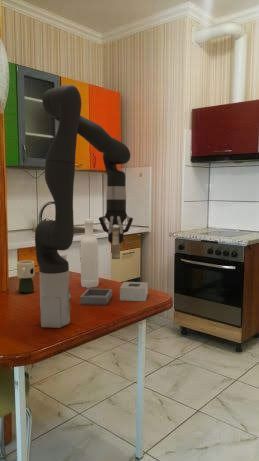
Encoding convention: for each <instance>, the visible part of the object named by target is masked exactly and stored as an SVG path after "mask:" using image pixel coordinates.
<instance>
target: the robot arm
mask: <svg viewBox="0 0 259 461" xmlns="http://www.w3.org/2000/svg"><path fill="white" fill-rule="evenodd" d="M81 97H82V96H81V93H80V90H79V89H78V88H77V86H75V85H73V84H64V85H60V86H56V87H53V88H50V89H48V90H46V91H45V92H44V93H43V95H42V106H43V110H45V112H46V113H47V114H48V116H50V117H51V118H53V119H54V120H56V121H57V122H58V127H57V132H56V134H55V136H54V139H53V140H52V142H51V144H50V146H49V148H48V150H47V152H46V156H45V161H44V162H45V165H44V179H45V183H46V186H47V188H48V190H49V193H50V195H51V197H52V199H53V202H54V208H55V209H54V210H55V211H54V212H55V214H54V215H55V217H54V220H50V219H48V220H47V219H45V220H41V221H40V222H39V223H38V224H37V226H36V228H35V232H34V246H35V258H36V263H37V265H38V268H39V273H38V274H39V303H40V305H39V306H40V309H39V310H40V325H41V326H40V327H41V328H56V329H60V328H62V327H64V326H67V325H68V324H70V323H71V322H70V321H71V319H70V318H71V313H70V312H71V310H70V309H71V308H70V307H71V306H70V300H69V293H70V269H69V268H70V266H69V261H68V260H67V259H66V260H65V259H64V258H62V257H61V256H60V255H59V252H58V251H67V250H68V249H70V247H71V246H72V244H73V240H74V233H75V232H74V186H75V184H74V182H75V172H76V150H77V141H78V140H77V138H78V135H79V136H81V137H82V138H83V139H84V140H86V141H87V143H89V144H90V145H91V146H92V147H93V148H94V149H95V150H97V151H98V152H99V153H102V161H103V165H104V169H105V172H106V177H107V178H106V186H107V187H106V198H105V199H106V200H105V203H106V205H105V206H106V212H105V214H104V216H100V217H98V221H99V223H100V225H101V228H102V231H103V232H104V233H107V235H108V236H107V240H108V243H109V244H112V230H111V228H113V227H114V226H116V225H117V226H118V227H119V228H120V234H119V243H120V244H123V242H124V236H125V235H124V234H125V233H128V232H129V230H130V229H131V226H132V223H133V220H134V217H130V216H128V214H127V190H126V173H125V172H124V171H122V170H119V169H118V166H117V165H124V164H127V163H129V161H130V159H131V152H130V149H129V147H128V146H127V145H126V144H125V143H123V142H121V140H118V139H116V138H114V137H112V135H110V134H109V132H107V130H105V129H104V128H103V127H102V126H100V125H99V124H98V123H96V122H94V121H92V120H90V119H88V118H86V117H84V116H82V115H81V114H82V113H81V112H82V98H81ZM106 220H107V221H108V223H109V224H108V226H107V225H106ZM125 221H126V222H127V224H126V226H125V227H124V222H125Z"/></svg>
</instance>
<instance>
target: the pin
mask: <svg viewBox="0 0 259 461" xmlns="http://www.w3.org/2000/svg"><path fill="white" fill-rule="evenodd" d="M111 230H112V243H111V259H112V260H119V259H120V260H121V243H119V234H120V228H119V226H118V227H117V226H116V227H114V226H113V228H111Z"/></svg>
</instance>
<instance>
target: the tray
mask: <svg viewBox="0 0 259 461" xmlns="http://www.w3.org/2000/svg"><path fill="white" fill-rule="evenodd" d="M112 298H113V289H112V288H110V289H109V288H105V289H104V288H86V290H85V291H84V292H83V293H82V294H81V295H80V299H79V301H80V303H79V304H80V305H81V306H82V305H83V306H84V305H85V306H107V305H108V304H109V303H110V301H111V299H112Z"/></svg>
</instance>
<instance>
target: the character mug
mask: <svg viewBox="0 0 259 461" xmlns="http://www.w3.org/2000/svg"><path fill="white" fill-rule="evenodd" d="M35 274H36V273H35V261H34V260H20V261H17V262H16V277H17V278H19V282H18V292H19V293H25V294H27V293H33V292H34V291H35V285H34V281H33V277H35V276H36V275H35Z"/></svg>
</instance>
